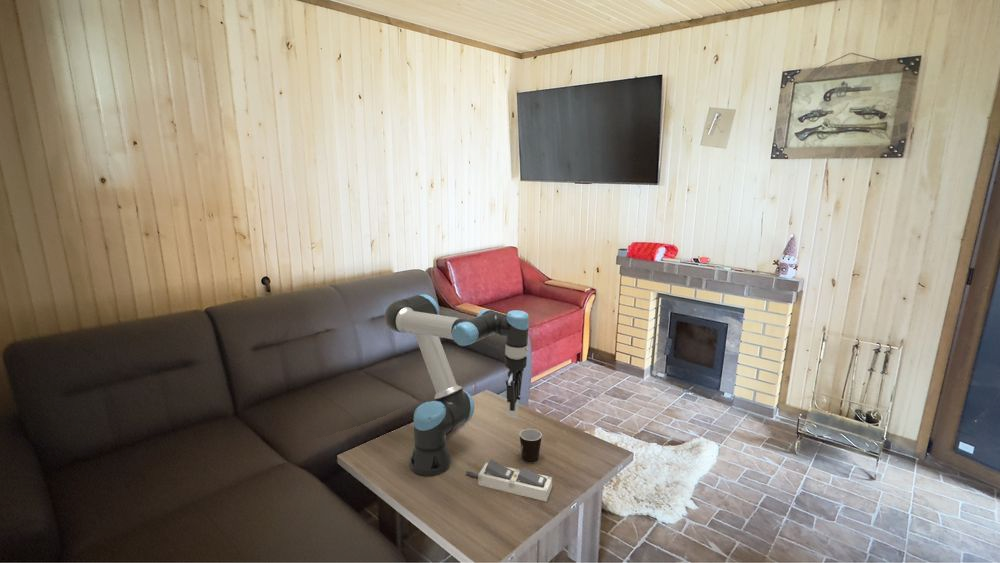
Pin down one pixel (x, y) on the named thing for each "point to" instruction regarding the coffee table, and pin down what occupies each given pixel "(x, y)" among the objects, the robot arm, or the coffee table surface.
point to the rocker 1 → (498, 470)
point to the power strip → (513, 484)
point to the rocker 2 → (531, 478)
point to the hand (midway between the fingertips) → (512, 416)
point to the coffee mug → (530, 444)
